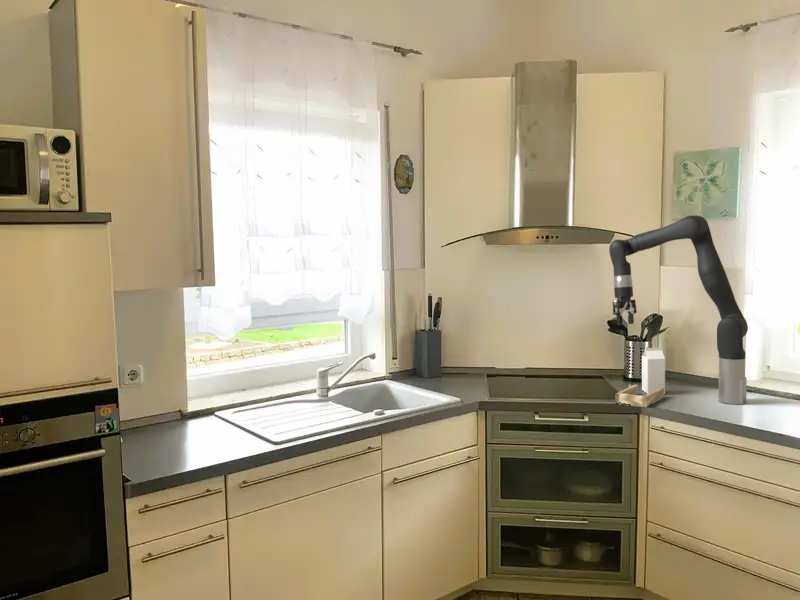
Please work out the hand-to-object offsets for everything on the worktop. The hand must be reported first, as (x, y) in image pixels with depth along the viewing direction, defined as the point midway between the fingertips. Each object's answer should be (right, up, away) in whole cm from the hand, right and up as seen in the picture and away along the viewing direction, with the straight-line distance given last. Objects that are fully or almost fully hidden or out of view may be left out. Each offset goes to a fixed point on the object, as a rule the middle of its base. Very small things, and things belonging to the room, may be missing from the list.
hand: (625, 324), depth 290 cm
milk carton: (+9, -29, -7) cm, 31 cm away
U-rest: (-1, -30, -20) cm, 35 cm away
